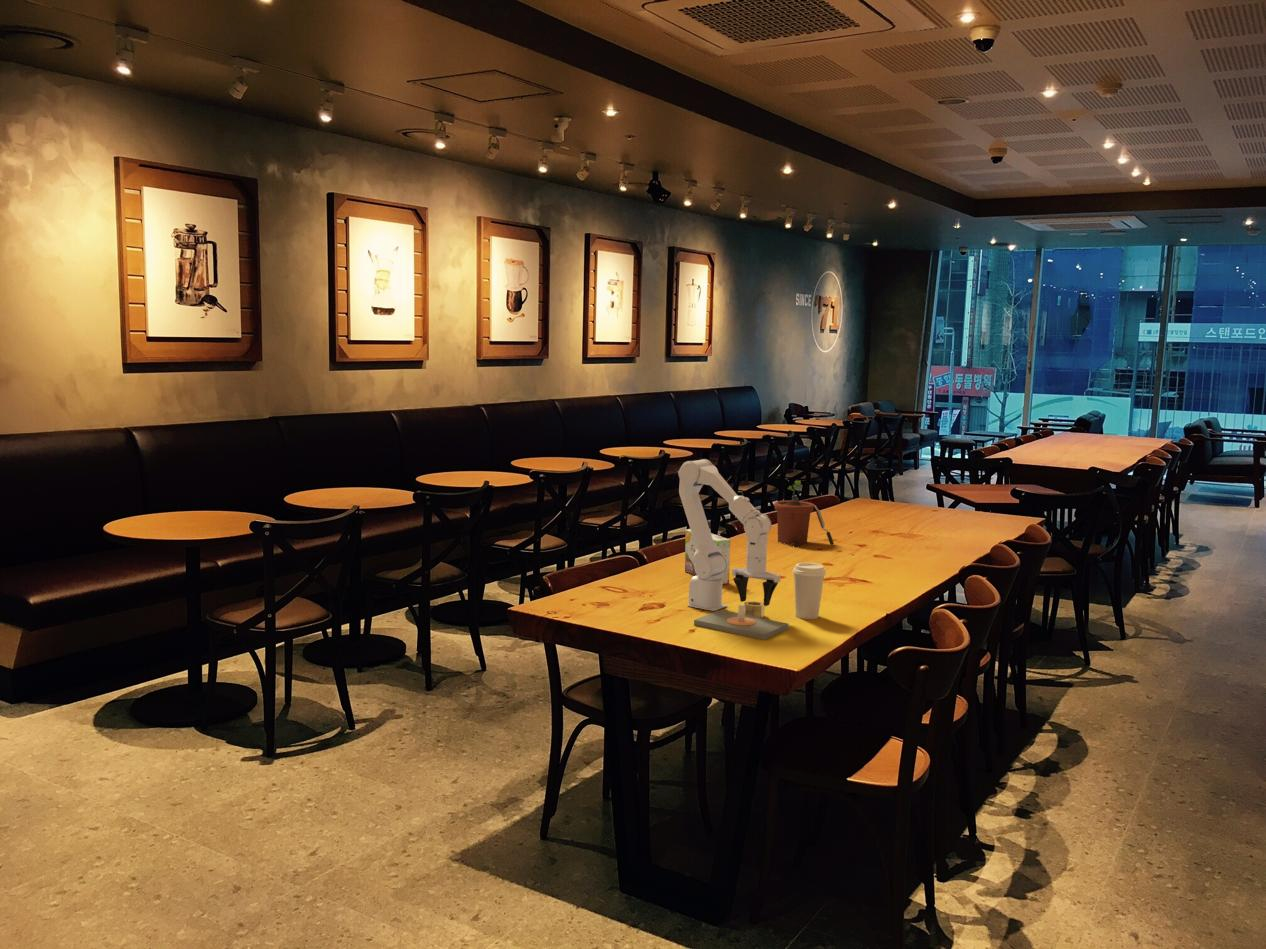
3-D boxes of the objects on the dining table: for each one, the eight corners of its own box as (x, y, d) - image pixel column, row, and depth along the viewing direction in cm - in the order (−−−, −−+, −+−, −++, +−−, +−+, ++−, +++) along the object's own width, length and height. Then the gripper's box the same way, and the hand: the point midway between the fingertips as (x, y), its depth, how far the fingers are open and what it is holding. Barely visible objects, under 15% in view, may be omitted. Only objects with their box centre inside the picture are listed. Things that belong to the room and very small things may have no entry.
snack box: (683, 572, 347) (684, 528, 345) (697, 570, 350) (698, 528, 348) (715, 585, 328) (717, 540, 326) (730, 584, 331) (732, 539, 329)
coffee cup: (819, 612, 298) (822, 562, 296) (826, 620, 288) (829, 569, 286) (787, 611, 297) (790, 561, 296) (793, 620, 288) (796, 568, 286)
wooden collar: (740, 616, 291) (741, 603, 290) (750, 612, 295) (750, 600, 295) (757, 619, 288) (758, 607, 287) (767, 615, 292) (767, 603, 292)
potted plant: (788, 536, 419) (791, 477, 416) (834, 544, 405) (837, 483, 402) (764, 542, 406) (767, 480, 403) (810, 550, 392) (814, 486, 389)
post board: (693, 625, 280) (694, 603, 279) (719, 615, 291) (720, 594, 291) (764, 639, 267) (765, 617, 267) (788, 628, 279) (789, 607, 278)
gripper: (727, 555, 290) (726, 601, 292) (772, 562, 282) (770, 609, 284) (739, 551, 296) (737, 597, 298) (784, 558, 288) (782, 605, 289)
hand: (754, 603), depth 291 cm, fingers open, 7 cm apart
